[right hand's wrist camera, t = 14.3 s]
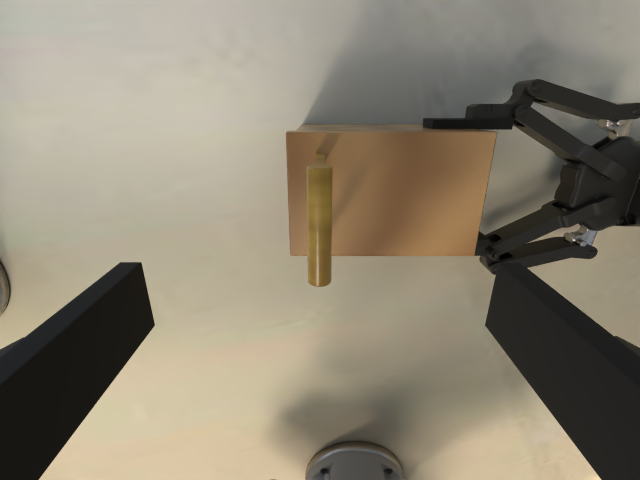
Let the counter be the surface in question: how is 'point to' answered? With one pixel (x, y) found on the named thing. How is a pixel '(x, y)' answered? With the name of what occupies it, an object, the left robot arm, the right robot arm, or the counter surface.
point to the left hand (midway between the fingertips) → (420, 184)
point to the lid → (385, 194)
